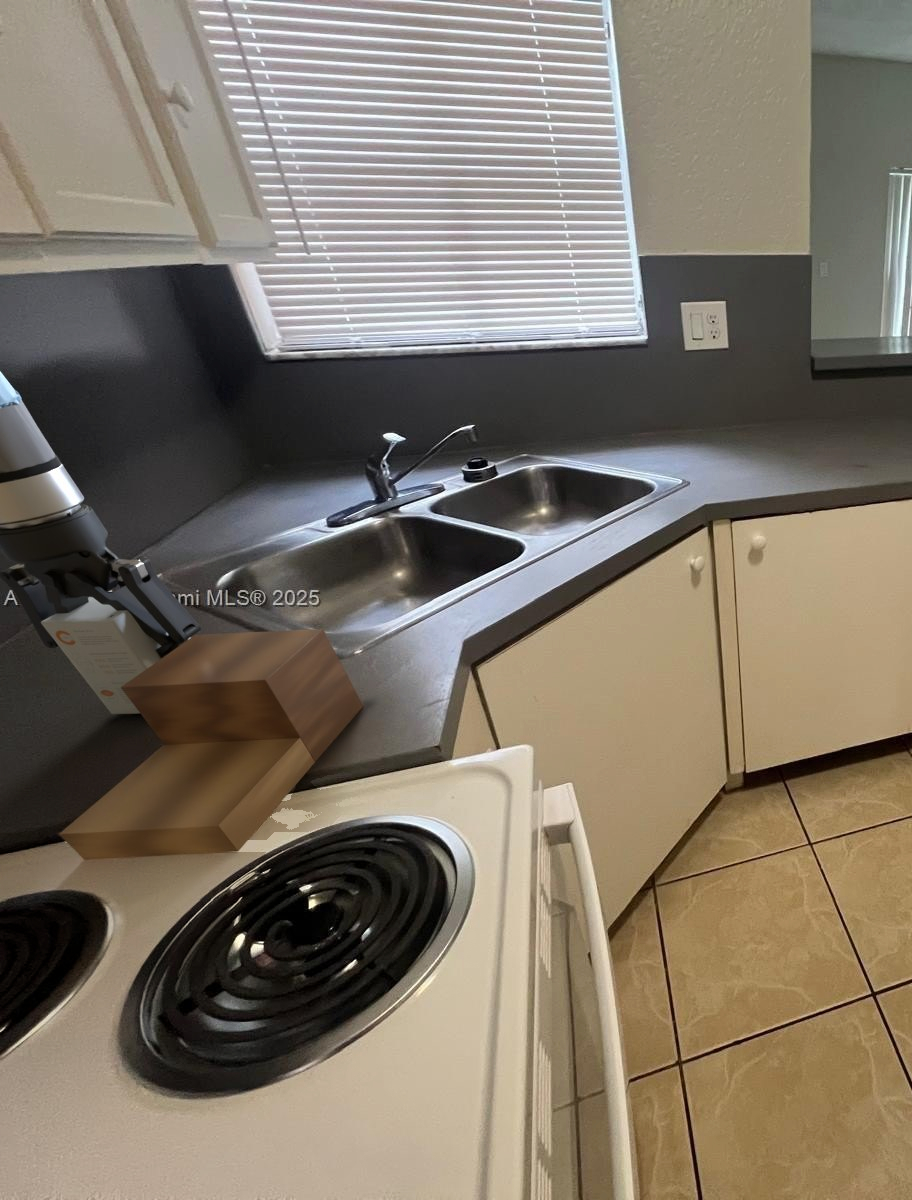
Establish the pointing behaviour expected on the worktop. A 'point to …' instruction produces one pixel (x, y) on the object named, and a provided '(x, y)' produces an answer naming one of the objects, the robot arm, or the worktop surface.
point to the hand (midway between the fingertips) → (161, 688)
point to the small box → (104, 649)
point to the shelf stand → (220, 743)
